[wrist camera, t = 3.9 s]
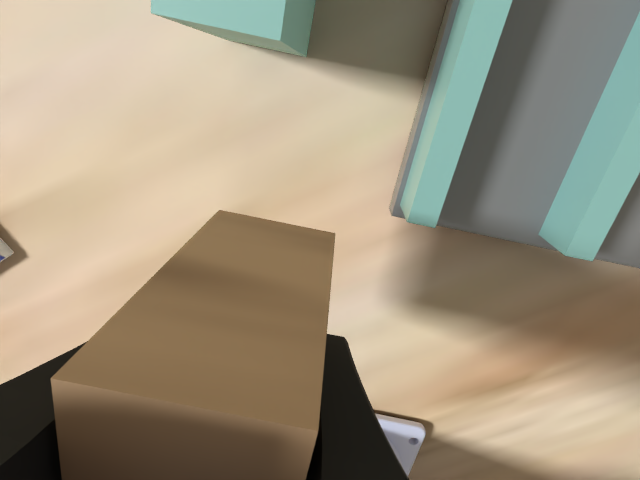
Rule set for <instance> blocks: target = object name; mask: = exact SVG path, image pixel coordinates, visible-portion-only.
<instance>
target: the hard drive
mask: <svg viewBox="0 0 640 480" xmlns="http://www.w3.org/2000/svg"><path fill="white" fill-rule="evenodd" d="M12 254H14V252H13V250H12V249H11V248H10V247H9V246H8V245H7V244H6V243H5V242H4V241H3V240H2V239H1V238H0V262H2V261H3V260H5V259H6V258H8V257H9V256H11V255H12Z"/></svg>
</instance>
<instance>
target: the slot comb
mask: <svg viewBox="0 0 640 480" xmlns="http://www.w3.org/2000/svg"><path fill="white" fill-rule="evenodd" d="M389 209H390V212H391V216H395V217H400V218H405V219H406V221H407V222H409V223H414V224H419V225H423V226H428V227H433V228H435V227H436V225H438V226H442V227H447V228H452V229H456V230H461V231H466V232H471V233H475V234H480V235H485V236H490V237H494V238H499V239H504V240H508V241H513V242H518V243H523V244H527V245H532V246H537V247H541V248H546V249H551V250H556V251H560V252H561V253H562V254H563V255H565V256H570V257H574V258H579V259H584V260H588V261H593V260H594V259H598V260H603V261H607V262H612V263H617V264H622V265H626V266H631V267H636V268H640V0H448V1H447V5H446V9H445V12H444V16H443V19H442V23H441V26H440V30H439V33H438V37H437V40H436V44H435V47H434V51H433V55H432V58H431V62H430V65H429V69H428V72H427V76H426V79H425V83H424V86H423V90H422V94H421V97H420V101H419V104H418V108H417V111H416V115H415V118H414V122H413V125H412V129H411V132H410V136H409V140H408V143H407V147H406V150H405V154H404V157H403V161H402V164H401V168H400V171H399V175H398V178H397V182H396V186H395V189H394V193H393V196H392V200H391V203H390V207H389Z"/></svg>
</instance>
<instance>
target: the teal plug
mask: <svg viewBox="0 0 640 480" xmlns="http://www.w3.org/2000/svg"><path fill="white" fill-rule="evenodd" d="M315 2H316V0H151V13H152V14H155V15H158V16H161V17H163V18H166V19H169V20H172V21H175V22H178V23H180V24H183V25H186V26H189V27H192V28H195V29H198V30H200V31H203V32H206V33H209V34H212V35H215V36H217V37H220V38H223V39H226V40H230V41H234V42H239V43H244V44H248V45H253V46H257V47H262V48H267V49H271V50H276V51H281V52H285V53H290V54H295V55H299V56H304V57H306V56H307V50H308V44H309V38H310V32H311V26H312V20H313V14H314V8H315Z"/></svg>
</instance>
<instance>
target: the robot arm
mask: <svg viewBox="0 0 640 480" xmlns="http://www.w3.org/2000/svg"><path fill="white" fill-rule="evenodd" d="M87 342H88V341H87ZM87 342H85V343H83V344H82V345H80V346H78V347H76V348H74V349H72V350H70V351H68V352H66V353H64V354H62V355H60V356H58V357H56V358H54V359H52V360H50V361H48V362H46V363H44V364H42V365H40V366H38V367H36V368H34V369H32V370H30V371H28V372H26V373H24V374H22V375H20V376H18V377H16V378H14V379H12V380H9V381H7V382H5V383H3V384H1V385H0V480H62V477H61V468H60V459H59V450H58V441H57V432H56V423H55V413H54V404H53V395H52V386H51V377H52V376H53V375H55V374H56V373H57V372H58V371H59V370H60V369H61V368H62V367H63V366H64V365H65V364H66V363H67V362H68V361H69V360H70V359H71V358H72V357H73V356H74V355H75V354H76V353H77V352H78V351H79V350H80V349H81V348H82V347H83V346H84V345H85V344H86V343H87ZM425 434H426V432H425V428H424V425H422V424H421V423H419V422H414V421H409V420H405V419H400V418H395V417H390V416H385V415H380V414H375V412H374V410H373V408H372V406H371V404H370V401H369V399H368V397H367V395H366V392H365V390H364V387H363V385H362V383H361V380H360V377H359V375H358V372H357V370H356V367H355V364H354V361H353V358H352V355H351V352H350V349H349V345H348V342H347V341H346V339H345V338H344V337H340V336H335V335H330V334H327V336H326V347H325V359H324V371H323V382H322V394H321V405H320V417H319V429H318V434H317V438H316V442H315V446H314V450H313V453H312V457H311V461H310V465H309V469H308V473H307V477H306V480H409V478H408V475H409V473H410V471H411V468H412V466H413V464H414V461H415V459H416V456H417V454H418V452H419V449H420V447H421V445H422V442H423V440H424V438H425Z"/></svg>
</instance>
